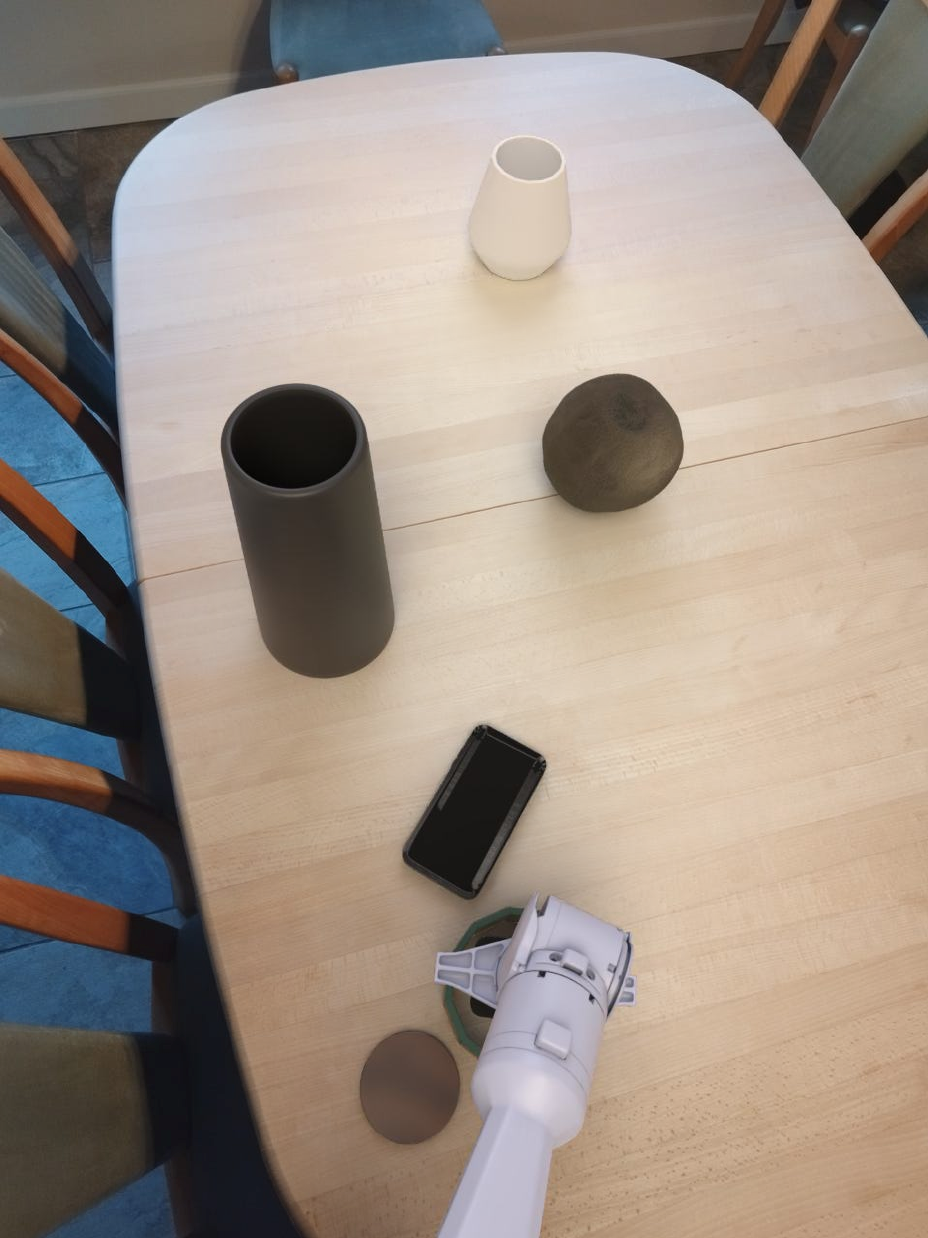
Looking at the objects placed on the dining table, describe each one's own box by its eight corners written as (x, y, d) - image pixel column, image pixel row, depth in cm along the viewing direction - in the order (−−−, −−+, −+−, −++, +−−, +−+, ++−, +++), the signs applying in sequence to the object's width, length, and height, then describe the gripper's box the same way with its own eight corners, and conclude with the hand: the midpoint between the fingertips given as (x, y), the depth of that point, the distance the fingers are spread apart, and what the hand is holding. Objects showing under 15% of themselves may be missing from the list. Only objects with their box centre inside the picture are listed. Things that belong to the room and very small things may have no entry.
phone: (551, 759, 82) (473, 903, 75) (549, 763, 83) (472, 905, 76) (478, 719, 83) (396, 856, 77) (477, 723, 84) (396, 859, 78)
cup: (490, 208, 118) (499, 108, 106) (581, 241, 116) (602, 143, 104) (448, 269, 112) (453, 171, 100) (543, 305, 110) (560, 210, 98)
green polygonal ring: (584, 1080, 71) (594, 1082, 67) (436, 1063, 71) (437, 1063, 67) (589, 924, 76) (599, 917, 72) (452, 908, 76) (455, 900, 72)
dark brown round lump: (548, 548, 94) (571, 464, 80) (523, 444, 100) (541, 350, 87) (672, 535, 95) (715, 450, 82) (641, 434, 102) (676, 340, 88)
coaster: (453, 1149, 68) (454, 1150, 68) (352, 1137, 68) (352, 1138, 68) (464, 1037, 72) (464, 1037, 71) (368, 1026, 72) (368, 1026, 71)
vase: (416, 646, 88) (419, 475, 62) (289, 700, 84) (235, 543, 58) (362, 542, 93) (344, 343, 67) (240, 588, 90) (172, 398, 64)
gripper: (652, 923, 60) (611, 946, 72) (444, 898, 60) (438, 925, 72) (651, 1036, 57) (609, 1040, 69) (431, 1010, 57) (427, 1018, 69)
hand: (521, 988), depth 70 cm, fingers closed on salt shaker, 3 cm apart
